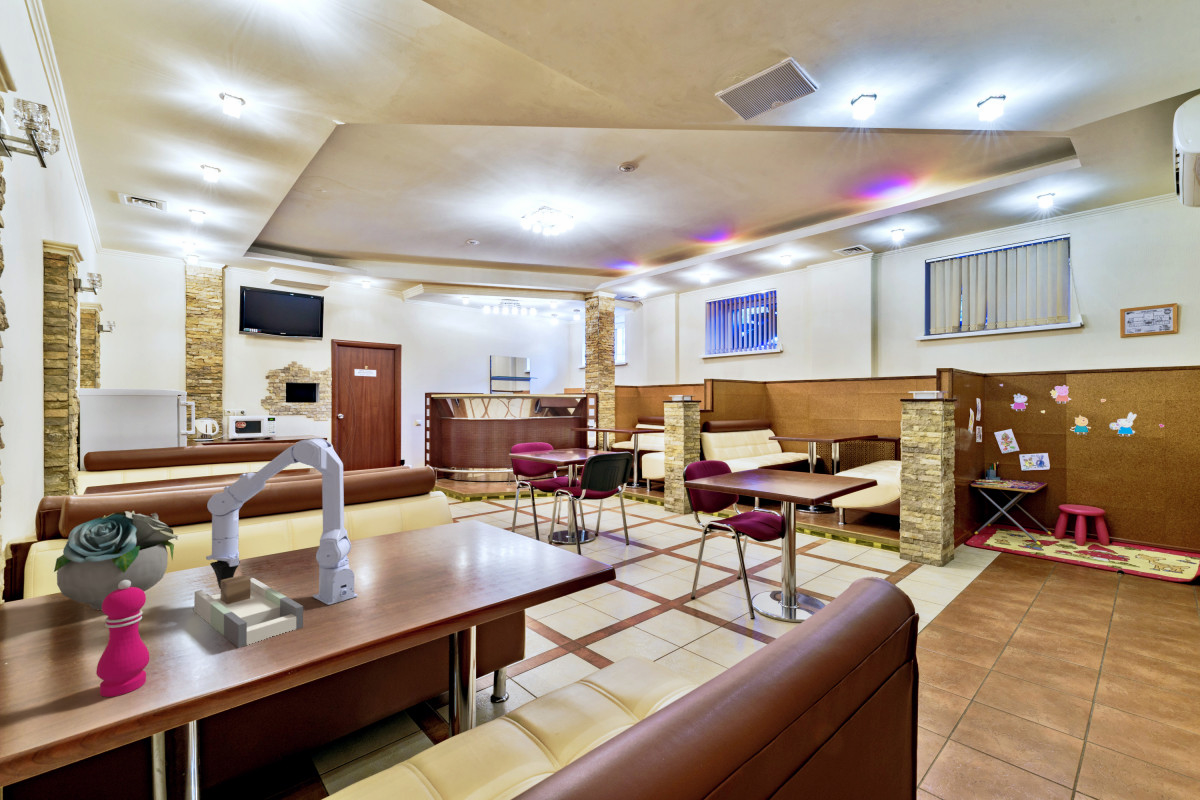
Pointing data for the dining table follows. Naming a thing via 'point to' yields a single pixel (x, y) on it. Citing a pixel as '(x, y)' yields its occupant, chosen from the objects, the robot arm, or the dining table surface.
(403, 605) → the dining table surface
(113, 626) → the pepper mill
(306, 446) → the robot arm
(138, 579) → the flower arrangement
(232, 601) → the walnut block
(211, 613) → the tray
